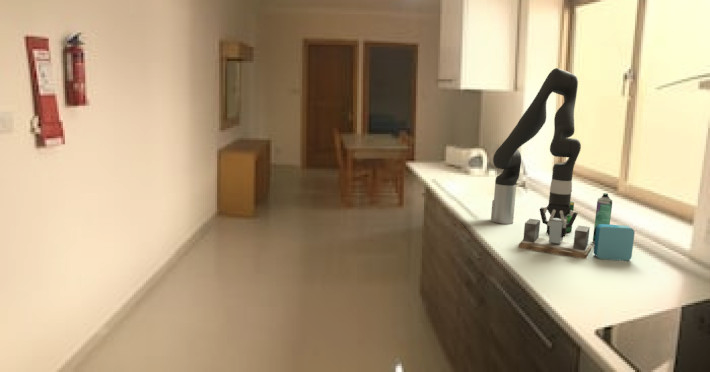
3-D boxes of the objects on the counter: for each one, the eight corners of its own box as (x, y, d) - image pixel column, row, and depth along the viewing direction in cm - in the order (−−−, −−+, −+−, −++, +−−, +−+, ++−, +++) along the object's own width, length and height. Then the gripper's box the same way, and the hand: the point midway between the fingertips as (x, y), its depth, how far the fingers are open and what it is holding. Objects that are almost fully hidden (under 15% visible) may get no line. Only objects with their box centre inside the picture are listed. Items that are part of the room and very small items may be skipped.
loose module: (547, 241, 218) (549, 221, 216) (551, 237, 224) (553, 217, 223) (559, 243, 216) (562, 222, 214) (562, 239, 222) (564, 219, 221)
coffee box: (555, 233, 245) (558, 202, 243) (551, 231, 248) (554, 201, 245) (571, 232, 247) (575, 202, 245) (567, 230, 250) (570, 200, 248)
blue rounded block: (626, 257, 213) (630, 225, 211) (631, 261, 208) (635, 228, 206) (592, 255, 214) (596, 223, 212) (596, 258, 210) (600, 226, 208)
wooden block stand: (518, 247, 220) (520, 223, 218) (526, 239, 232) (528, 217, 230) (586, 258, 209) (588, 233, 207) (590, 249, 221) (593, 226, 219)
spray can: (607, 242, 234) (613, 193, 230) (607, 245, 229) (613, 195, 225) (593, 240, 236) (598, 191, 232) (592, 243, 231) (597, 193, 228)
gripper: (539, 190, 217) (534, 235, 220) (579, 195, 210) (574, 241, 213) (542, 187, 223) (538, 231, 226) (582, 192, 217) (577, 237, 220)
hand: (555, 236), depth 220 cm, fingers closed on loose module, 4 cm apart
